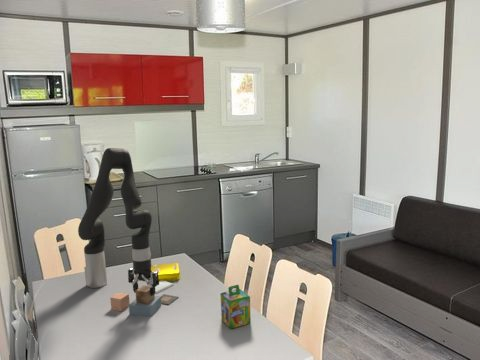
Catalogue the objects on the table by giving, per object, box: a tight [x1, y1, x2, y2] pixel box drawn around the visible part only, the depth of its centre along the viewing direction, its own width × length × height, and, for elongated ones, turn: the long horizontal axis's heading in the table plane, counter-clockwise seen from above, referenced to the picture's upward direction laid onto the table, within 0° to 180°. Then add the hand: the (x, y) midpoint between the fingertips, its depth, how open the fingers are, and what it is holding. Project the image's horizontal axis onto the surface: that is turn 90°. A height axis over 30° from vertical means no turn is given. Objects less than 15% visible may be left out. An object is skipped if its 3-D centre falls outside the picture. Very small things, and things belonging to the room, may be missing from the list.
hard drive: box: [154, 280, 174, 296], centre depth 201 cm, size 2×8×12 cm
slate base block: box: [128, 295, 162, 317], centre depth 179 cm, size 10×10×4 cm
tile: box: [160, 293, 179, 306], centre depth 188 cm, size 8×8×1 cm
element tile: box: [151, 262, 181, 282], centre depth 216 cm, size 15×15×5 cm
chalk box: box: [219, 284, 252, 330], centre depth 165 cm, size 9×9×15 cm
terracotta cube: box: [110, 292, 130, 312], centre depth 182 cm, size 6×6×6 cm
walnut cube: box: [135, 285, 156, 304], centre depth 178 cm, size 6×6×6 cm
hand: (144, 293), depth 178 cm, fingers open, 8 cm apart
